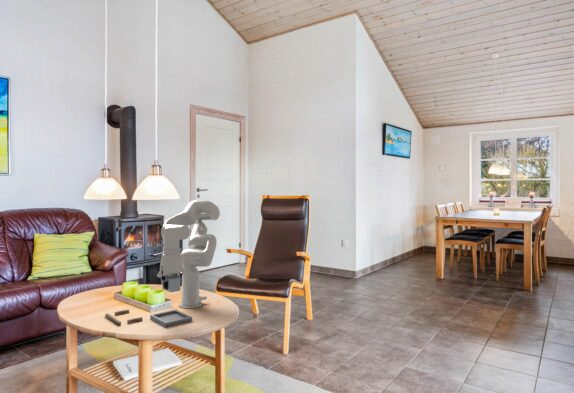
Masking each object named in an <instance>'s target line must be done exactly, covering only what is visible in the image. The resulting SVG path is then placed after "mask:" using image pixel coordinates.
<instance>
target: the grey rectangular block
mask: <svg viewBox="0 0 574 393" xmlns="http://www.w3.org/2000/svg"><path fill="white" fill-rule="evenodd" d="M161 280H162V279H161ZM181 280H182V276H181V277H180V276H177V275H175V274H174V275H168V279H167V281H168V289H167V290H166V289H164V287H163V280H162V284H161V287H162V288H161V289H162V290H165V291H167V292H169V293H175V292H181Z"/></svg>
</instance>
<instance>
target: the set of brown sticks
mask: <svg viewBox="0 0 574 393" xmlns="http://www.w3.org/2000/svg"><path fill="white" fill-rule="evenodd" d="M124 314H130V309H122V310H117V311H114V316H119V315H124ZM104 316H105V318H106V319H108V320H110V322H112V323H113V324H116V326H118V327H119V326H121V325H122V322H121V320H119V319H117V318H116V317H114V316H113V315H112V314H110V313H105V314H104ZM142 321H143V316H139V317H135V318H129V319H126V322H127V324H133V323H137V322H142Z"/></svg>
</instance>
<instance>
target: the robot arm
mask: <svg viewBox="0 0 574 393" xmlns="http://www.w3.org/2000/svg"><path fill="white" fill-rule="evenodd" d="M220 211H221V210H220V208H219V206H217V205H216V204H215V203H213V202H212V201H209V200H191V201H190V202H189V203H188V204H187V206H186V207H185V208H184V210H183V211H182V212H181V213H178V214H175V215H174V216H171V217H170V218H168V219H167V220H166V221H165V222H164V224H163V226H162V227H161V229H160V235H161V237H162V238H163V254H161V258H160V264H159V271H158V273H157V274H156V277H158V278H160V279H161V280H163V287H164V289H166V290H167V289H168V281H167V279H168V275H174V274H175V275H177V276H180V277H181V301H180V302H179V303H178V307H179V308H182V309H197V308H200V307H201V306H203V301H206V300H207V299H208V297H207V296H206V295H205V296H202V295H200V277H201V276H200V275H201V274H200V271H199V270H198V268H197V267H199V268H200V267H201V268H207V267H209V266H211V264H212V262H213V259H214V256H215V251H216V248H217V237H216V236H215V235H214V234H212V233H211V234H209V233H208V227H207V226H206V223H204V222H203V221H217V220H218V219H219V218H220V215H221V212H220ZM191 225H192V229H190V227H189V226H191ZM188 238H189V239H188ZM187 239H188V243H187V246H188V248H187V249H184V250H183V249H182V248H181V246H180V244H181V243H180V242H181V241H184V240H187ZM180 240H181V241H180ZM164 289H163V290H164ZM166 290H165V291H166Z"/></svg>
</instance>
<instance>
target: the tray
mask: <svg viewBox="0 0 574 393" xmlns="http://www.w3.org/2000/svg"><path fill="white" fill-rule="evenodd" d="M149 319H150V320H151V321H153V322H155V323H157V324H158V325H160V326H162V327H164V328H168V327H173V326H177V325H181V324H185V323H190V322H193V316H191V315H189V314H187V313H185V312H184V311H183V312H182V311H180V310H178V309H173V310H167V311H163V312H158V313H153V314H150V316H149Z"/></svg>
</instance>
